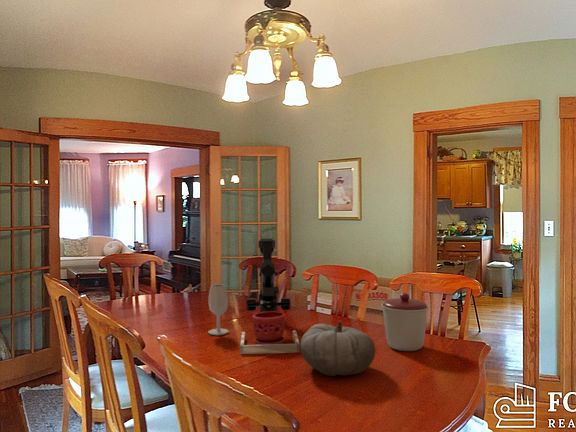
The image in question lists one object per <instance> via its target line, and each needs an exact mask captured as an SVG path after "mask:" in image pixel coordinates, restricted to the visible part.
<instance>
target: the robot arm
mask: <svg viewBox="0 0 576 432" xmlns="http://www.w3.org/2000/svg"><path fill="white" fill-rule="evenodd" d="M275 248H276V240H274V239H273V238H260V240H258V249H259V252H260V254H261V255H262V263H260V268H259V271H258V273H259V274H258V275H259V277H260V279H261V288H260V292H259V294H258V301H256V300H257V299H256V298H247V299H246V311H248V312H253V311H254V312H255V311H256V310H257V308H258V307H259V313H260V312H268V311H276V312H278V307H280V309H281V310H282V311H290V310H291V303H292V302H291V298H289V297H281V298H280V300H278V295H279V293H280V289H279V287H280V286H277V285H275V279H276V277H277V275H278V273H279V272H278V270H277V269H276V268H275V263H274V262H273V260H272V257H273V256H272V255H273V253H274V250H275Z"/></svg>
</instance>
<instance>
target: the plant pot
mask: <svg viewBox="0 0 576 432" xmlns="http://www.w3.org/2000/svg"><path fill="white" fill-rule="evenodd" d="M252 327H253V332H254V335H255V337H256V338H255V343H256V345H263V344H284V342H285V337H284V333H285V328H286V314H285V313H284V312H283V311H282V312H281V311H277V312H276V311H268V312H260V311H259V312H256V313H254V314H253V315H252Z"/></svg>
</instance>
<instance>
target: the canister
mask: <svg viewBox="0 0 576 432" xmlns="http://www.w3.org/2000/svg"><path fill="white" fill-rule="evenodd" d="M380 306H381V308H382V311H383V313H382V314H383V315H382V316H383V323H384V330H385V337H386V339H385V340H386V342H387V345H388V346H389V347H390V348H392V349H393V350H397V351H400V352H416V351H418V350H420V349H422V347H423V345H424V343H425V342H424V341H425V335H426V329H427V318H428V310H429V309H430V305H429V304H427V303H426V302H424V301H422V300H420V299H415V298H414V299H413V298H410V295H409V293H406V292H401V294H400V295H399V298H390V299H387V300H386V299H385V301H383V302H381V304H380Z"/></svg>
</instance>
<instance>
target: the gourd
mask: <svg viewBox="0 0 576 432" xmlns="http://www.w3.org/2000/svg"><path fill="white" fill-rule="evenodd" d="M342 324H343V322H342V320H339V322H338V324H337V325H336V326H334V325H331V324H326V323H316V324H314V325H311V327H310V328H309V329H308V330H307V331H306V332H305V333H304V334H303V336H302V337H301V340H300V353H301V355H302V357H303V359H304V360H305V361H306V363H307V364H308V365H309V366H310V367H311V368H312V369H314V370H317V371H318V373H320V374H323V375H324V376H329V377H330V376H331V377H335V376H337V375H338V376H348V375H350V376H351V375H356V374H357V375H358V374H360V373H363V372H364V371H365V370H366V369H368V368H369V367H370V365H372V363H373V361H374V359H375V354H376V347H375V343H374V341H373V339H372V338H371V337H370V336H369V335H368V334H367V333H365V332H364V331H361V330H360V329H357V328H355V327H350V326H343V325H342Z"/></svg>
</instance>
